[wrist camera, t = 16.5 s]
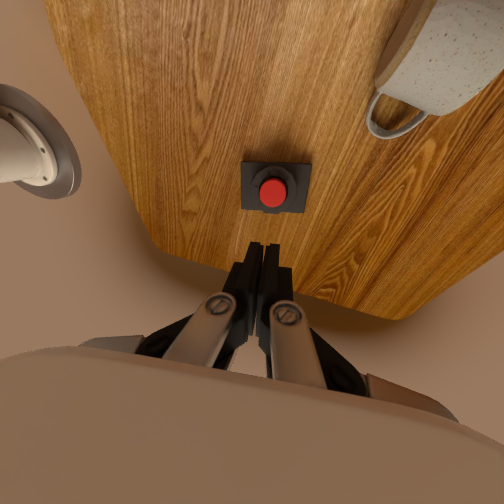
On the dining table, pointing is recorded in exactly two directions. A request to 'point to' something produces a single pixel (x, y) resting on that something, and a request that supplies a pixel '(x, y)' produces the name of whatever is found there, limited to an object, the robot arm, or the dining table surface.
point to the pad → (288, 173)
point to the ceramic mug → (439, 57)
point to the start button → (273, 192)
